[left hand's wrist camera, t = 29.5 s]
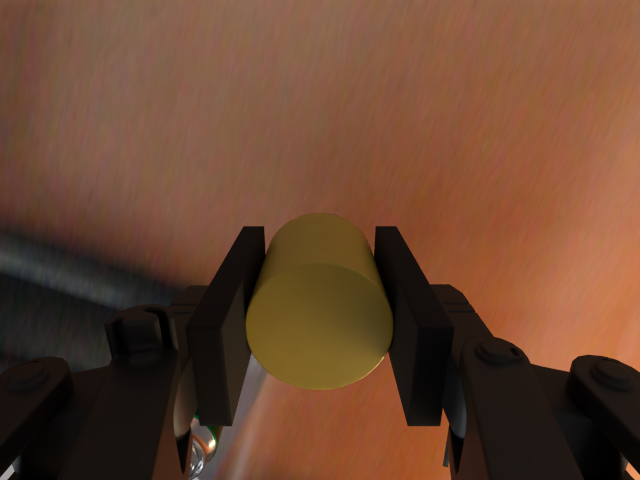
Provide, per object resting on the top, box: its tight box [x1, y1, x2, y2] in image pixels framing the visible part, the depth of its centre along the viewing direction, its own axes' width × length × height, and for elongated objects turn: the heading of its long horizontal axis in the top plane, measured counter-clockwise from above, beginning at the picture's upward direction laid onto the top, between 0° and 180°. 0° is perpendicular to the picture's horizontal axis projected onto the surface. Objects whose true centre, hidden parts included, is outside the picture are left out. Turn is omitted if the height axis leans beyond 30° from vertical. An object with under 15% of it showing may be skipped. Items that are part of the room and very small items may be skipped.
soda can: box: [189, 410, 223, 480], centre depth 27 cm, size 5×5×12 cm
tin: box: [245, 213, 394, 390], centre depth 13 cm, size 4×4×5 cm
